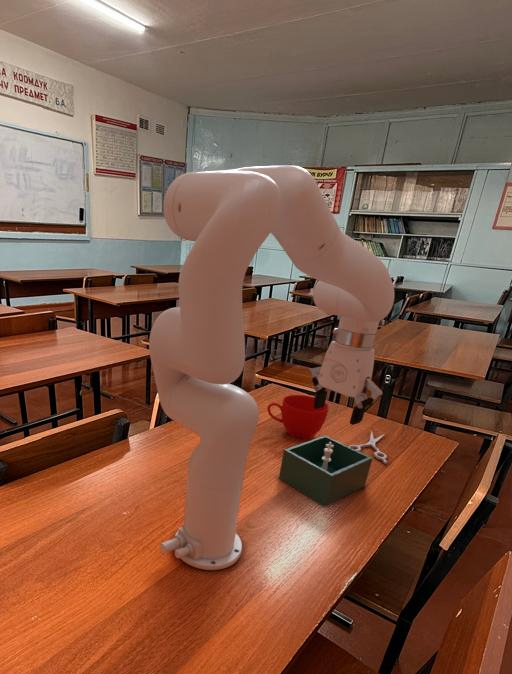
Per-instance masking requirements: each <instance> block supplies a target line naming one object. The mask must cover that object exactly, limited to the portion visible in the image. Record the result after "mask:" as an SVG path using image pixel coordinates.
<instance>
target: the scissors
mask: <svg viewBox="0 0 512 674" xmlns="http://www.w3.org/2000/svg"><path fill="white" fill-rule="evenodd" d="M373 433H374V432H373V430H372V429H371V430H370V435H369V441H367V442H366V443H361V444H350V445H348V447H350V448H353V449H355V450H357V451H359V452H361V451H362V448H367V447H371V448H372V449H373V450H375V452H373V457H375V458H376V459H378V460H380V461H382V463H383V464H384V465H387V463H388V460H386V459H387V454H386V453H384V452H383V451H380V448H378V447H377V446H376V443H377V442H379V441H380V440H381V439H382V438H383V437H384V436H385V435H386V433H384V434H382V435H379V436H378V437H376V438H374V434H373Z"/></svg>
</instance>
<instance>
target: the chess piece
mask: <svg viewBox="0 0 512 674" xmlns="http://www.w3.org/2000/svg"><path fill="white" fill-rule="evenodd" d="M333 446H334V445H331V442H329V444H326V447H328V448H325V449H324V453H325V456H324V457H322V460H323V461H324V462H323V465H322V467H321V468H322V469H324V470H326V471H327V466H328V462H330V461H331V458H329V457H330V455H331V454H332V452H333V450H332V449H330V447H333Z"/></svg>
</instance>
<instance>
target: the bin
mask: <svg viewBox="0 0 512 674" xmlns="http://www.w3.org/2000/svg"><path fill="white" fill-rule="evenodd" d="M329 442H331V445H334V446H333V447H330V449H332V450H333V452H332V454H331V455H330V457H329V458H331V461H330V462H328V466H327V471H326V470H324V469H322V468H321V467H322V465H323V462H324V461H323V460H322V457H324V456H325V453H324V449H325V448H328V447H326V444H329ZM373 459H374V457H371V456H369V455H367V454H366V453H363V452H361V451H360V452H359V451H357V450H356V448H350V447H349V445H346V444H344V443H342V442H340V441H338V440H335V439H334V438H332V437H330V436H328V435H322V436H319V437H316V438H314V439H310V440H308V441H305V442H302V443H299V444H297V445H294V446H290V447H288V448H285V449H283V454H282V459H281V464H280V470H279V475H278V479H279V480H281V481H282V482H284V483H286V484H288V485H289V486H291V487H293V488H294V489H296V490H298V491H299V492H301V493H302V494H304V495H306V496H307V497H309V498H310V499H312V500H314V501H316V502H317V503H318V504H320V505H322V506H323V507H326V506H328V505H331V504H332V503H335V502H336V501H339V500H340V499H343V498H344V497H346V496H348V495H350V494H352V493H354V492H356V491H358V490H360V489H362V488H364V487H365V486H366V484H367V479H368V477H369V472H370V469H371V465H372V462H373Z"/></svg>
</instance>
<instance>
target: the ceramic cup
mask: <svg viewBox="0 0 512 674" xmlns="http://www.w3.org/2000/svg"><path fill="white" fill-rule="evenodd" d="M314 400H315V396H314V397H313V396H309V395H302V394H290V395H286V396H285V397H283V399H282V404H280V403H278V402H271V403H269V404H268V406H267V413H268V415H269V416H270V417H271V419H273V420H275V421H277V422H278V423H281V424H283V427H284V429H285V430H286V432H287V433H288V435H289V436H290V437H292V438H295V439H298V440H309V439H311V438H312V437H313V436H315V435H316V434H317V433H318V432H319V431H320V430H321V429H322V428H323V426H324V424H325V421H326V420H327V416H328V413H329V409H330V408H329V407H330V406H329V404H328V403H327V402H325V405H324V407H322V408H318V409H314V408H313V407H314ZM273 406H275V407H277V408H279V410H280V413H281V418H279V417H277V416H275V415H274V414H273V413H272V412H271V407H273Z"/></svg>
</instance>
